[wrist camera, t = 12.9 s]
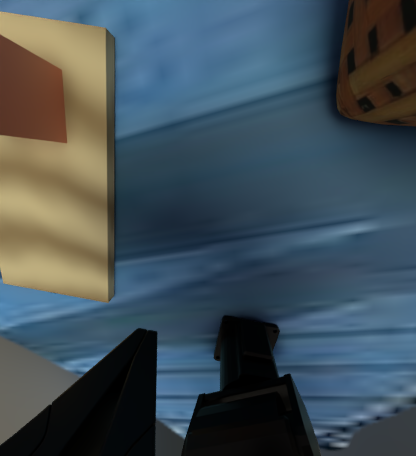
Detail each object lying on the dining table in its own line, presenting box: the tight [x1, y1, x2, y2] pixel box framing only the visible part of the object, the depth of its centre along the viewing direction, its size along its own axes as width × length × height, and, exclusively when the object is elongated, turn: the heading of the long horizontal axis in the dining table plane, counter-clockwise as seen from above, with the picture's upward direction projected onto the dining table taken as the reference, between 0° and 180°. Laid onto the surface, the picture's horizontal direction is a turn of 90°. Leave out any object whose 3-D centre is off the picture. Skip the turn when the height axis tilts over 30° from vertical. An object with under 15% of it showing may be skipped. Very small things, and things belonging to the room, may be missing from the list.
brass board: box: [0, 12, 115, 303], centre depth 18 cm, size 24×12×1 cm, turn 171°
